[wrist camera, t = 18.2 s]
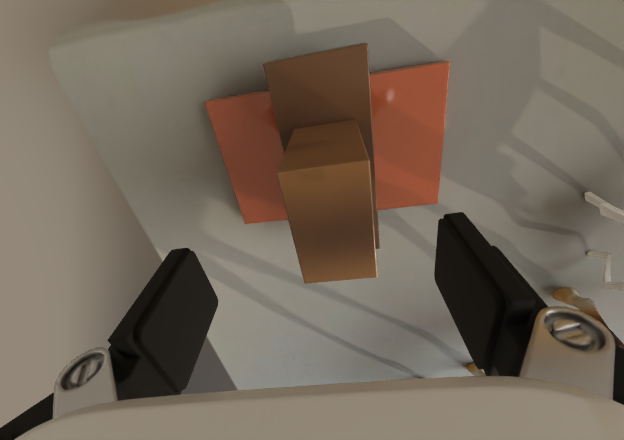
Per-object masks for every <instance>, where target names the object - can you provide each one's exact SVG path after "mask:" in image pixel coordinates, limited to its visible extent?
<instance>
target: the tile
mask: <svg viewBox="0 0 624 440" xmlns="http://www.w3.org/2000/svg"><path fill="white" fill-rule="evenodd" d="M449 70H450V62H449V61H437V62H431V63H425V64H419V65H413V66H407V67H401V68H395V69H389V70H383V71H377V72H371V73H369V76H370V93H371V110H372V127H373V145H374V162H375V179H376V196H377V210H381V209H391V208H400V207H409V206H419V205H428V204H437V203H438V192H439V181H440V170H441V159H442V148H443V137H444V125H445V114H446V103H447V92H448V81H449ZM205 105H206V108H207V111H208V114H209V117H210V120H211V123H212V126H213V129H214V132H215V135H216V138H217V141H218V144H219V147H220V150H221V153H222V156H223V159H224V162H225V165H226V168H227V171H228V174H229V177H230V180H231V183H232V186H233V189H234V192H235V195H236V198H237V201H238V204H239V207H240V210H241V213H242V216H243V219H244V222H245V224H250V223H259V222H269V221H278V220H287V219H288V217H287V213H286V209H285V205H284V201H283V197H282V193H281V189H280V185H279V182H278V178H277V171H278V168H279V166H280V163H281V161H282V158H283V156H284V152H283V148H282V143H281V139H280V135H279V130H278V126H277V122H276V118H275V113H274V109H273V105H272V100H271V96H270V92H269V90H263V91H257V92H251V93H245V94H239V95H233V96H227V97H221V98H215V99H210V100H208V101H206V102H205Z"/></svg>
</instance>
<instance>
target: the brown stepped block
mask: <svg viewBox="0 0 624 440" xmlns="http://www.w3.org/2000/svg"><path fill="white" fill-rule="evenodd" d="M263 66H264V70H265V74H266V79H267V83H268V87H269V92H270V96H271V100H272V105H273V109H274V113H275V118H276V122H277V126H278V130H279V135H280V139H281V143H282V148H283V152H284V156H283V158H282V161H281V163H280V166H279V168H278V171H277V178H278V182H279V185H280V189H281V193H282V197H283V201H284V205H285V209H286V213H287V217H288V221H289V225H290V228H291V232H292V236H293V240H294V244H295V248H296V252H297V256H298V260H299V264H300V268H301V271H302V275H303V279H304V283H317V282H328V281H339V280H351V279H362V278H373V277H377V260H376V249H379V231H378V214H377V196H376V179H375V162H374V145H373V127H372V110H371V93H370V76H369V58H368V44H367V43H359V44H354V45H349V46H344V47H339V48H334V49H329V50H324V51H319V52H314V53H309V54H304V55H299V56H294V57H289V58H284V59H279V60H274V61H270V62H267V63H264V64H263Z"/></svg>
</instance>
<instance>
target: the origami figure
mask: <svg viewBox="0 0 624 440" xmlns="http://www.w3.org/2000/svg"><path fill="white" fill-rule="evenodd" d="M584 194H585V200H586V201H588V202H589V203H591V204H593V205H595V206H597V207H599V208H600V214H601V215H603V216H605V217H608V218H610V219H612V220H615V221H617V222H619V223H622V224H624V211H623V210H621V209H619V208H616V207H614V206H612V205H610V204H609V203H608V202H606V201H604V200H603V199H601V198H600V197H598V196H596V195H595V194H593V193H591V192H586V193H584ZM587 256H593V257H601V258H607V259H606V265H605V271H604V277H603V284H602V288H609V289H617V290H624V282H622V283H611V253H606V252H598V251H589V252H588V253H587Z"/></svg>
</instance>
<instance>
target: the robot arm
mask: <svg viewBox="0 0 624 440" xmlns="http://www.w3.org/2000/svg"><path fill="white" fill-rule="evenodd" d="M435 281H436V284H437V286H438V288H439V290H440V292H441V294H442V296H443V299H444V301H445V303H446V305H447V307H448V309H449V311H450V313H451V315H452V317H453V319H454V322H455V324H456V326H457V328H458V330H459V332H460V334H461V336H462V338H463V340H464V343H465V345H466V347H467V349H468V351H469V353H470V355H471V357H472V359H473V361H474V363H475V365H476V367H477V368H478V369H479V370H481V369H483V370H484V372H485V374H486V376H468V377H446V378H424V379H406V380H390V381H374V382H358V383H342V384H327V385H312V386H297V387H282V388H268V389H253V390H239V391H225V392H212V393H199V394H185V395H180V394H181V392H182V390H184V389H185V388H186V387H187V385H188V382H189V379H190V377H191V374H192V372H193V369H194V366H195V364H196V361H197V359H198V356H199V353H200V351H201V348H202V345H203V343H204V340H205V338H206V335H207V332H208V330H209V327H210V325H211V322H212V319H213V317H214V314H215V312H216V309H217V306H218V298H217V296H216V294H215V292H214V290H213V288H212V286H211V284H210V282H209V280H208V278H207V276H206V274H205V272H204V270H203V268H202V266H201V264H200V262H199V260H198V258H197V256H196V254H195V253H194V252H193V251H190V249H188V248H182V249H174V250H171V251H170V253H169V254H168V255H167V257H166V258H165V260H164V261H163V263H162V264H161V265H160V267H159V268H158V270H157V271H156V272H155V274H154V275H153V277H152V278H151V280H150V281H149V282H148V284H147V285H146V287H145V288H144V290H143V291H142V292H141V294H140V295H139V297H138V298H137V299H136V301H135V302H134V304H133V305H132V306H131V308H130V309H129V311H128V312H127V314H126V315H125V317H124V318H123V319H122V321H121V322H120V324H119V325H118V326H117V328H116V329H115V331H114V332H113V333H112V335H111V336H110V338H109V339H108V341H109V343H110V344H111V346H110V347H109V349H108V350H107V349H105V348H95V349H91V350H89V351H87V352H85V353H83V354H81V355H80V356H78V357H77V358H75V359H74V360H73V361H71V362H70V363H69V364H68V365H67V366H66V367H65V368H64V370H63V371H62V372H61V373H60V374H59V376H58V378H57V380H56V382H55V386H54V393H52V394H51V395H49V396H48V397H46V398H45V399H43V400H42V401H40V402H39V403H37V404H36V405H34V406H33V407H31V408H30V409H28V410H27V411H25V412H24V413H22V414H21V415H19V416H18V417H16V418H15V419H13V420H12V421H10V422H9V423H7V424H6V425H4V426H3V427H1V428H0V440H624V349H623V348H621V347H618V346H616V345H615V341H614V337H613V336H612V334H611V333H610V331H609V330H608V329H607V328H606V327H605V326H604V325H603V324H602V323H601V322H600V321H598V320H596V319H595V318H593V317H592V316H590V315H588V314H586V313H584V312H581V311H579V310H576V309H572V308H568V307H561V306H553V307H548V306H547V305H546V304H545V303H544V301H543V300H542V299H541V298H540V297H539V296H538V294H537V293H536V292H535V291H534V290H533V288H532V287H531V286H530V285H529V284H528V283H527V281H526V280H525V279H524V278H523V277H522V276H521V274H520V273H519V272H518V271H517V270H516V269H515V267H514V266H513V265H512V264H511V263H510V262H509V260H508V259H507V258H506V257H505V256H504V255H503V253H502V252H501V251H500V250H499V249H498V248H497V247H495V246H491V245H490V244H489V243H488V242H487V240H486V239H485V238H484V237H483V236H482V234H481V233H480V232H479V231H478V230H477V228H476V227H475V226H474V225H473V224H472V222H471V221H470V220H469V219H468V218H467V216H466V215H465V214H464V213H463V212H459V213H452V214H445V215H444V218H443V219H440V220H439V222H438V235H437V248H436V261H435Z"/></svg>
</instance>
